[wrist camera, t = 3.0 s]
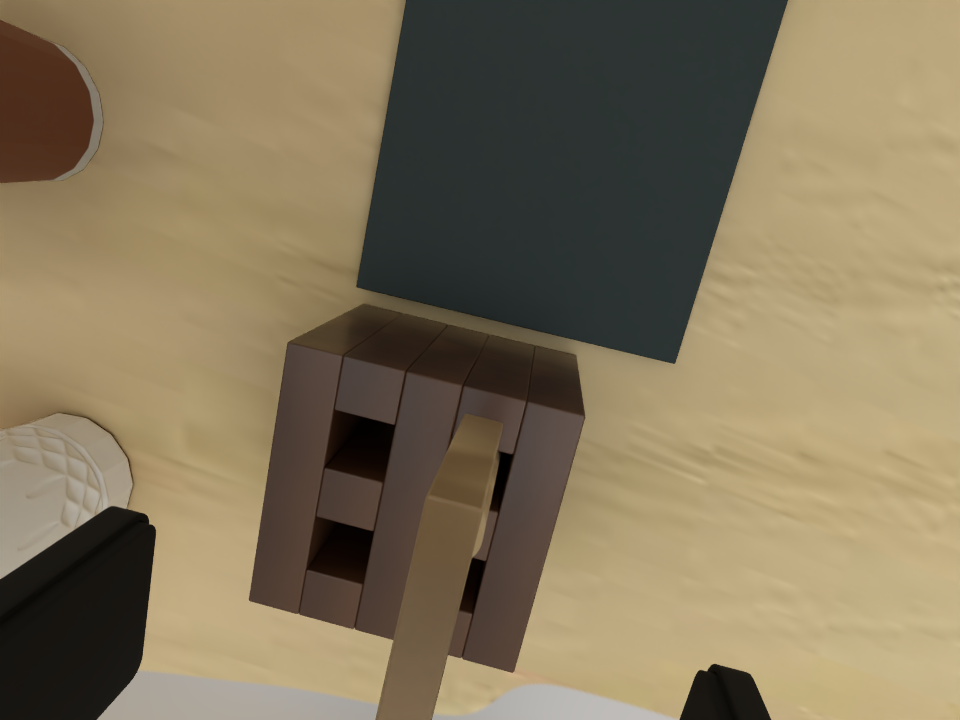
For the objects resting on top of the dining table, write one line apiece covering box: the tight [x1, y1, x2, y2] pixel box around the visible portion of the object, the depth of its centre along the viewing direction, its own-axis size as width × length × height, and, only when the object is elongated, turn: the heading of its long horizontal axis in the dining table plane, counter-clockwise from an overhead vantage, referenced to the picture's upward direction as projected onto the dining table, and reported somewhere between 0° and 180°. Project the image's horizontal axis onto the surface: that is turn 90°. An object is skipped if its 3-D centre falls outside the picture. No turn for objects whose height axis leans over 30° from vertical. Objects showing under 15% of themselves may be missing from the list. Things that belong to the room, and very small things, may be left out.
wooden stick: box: [376, 414, 503, 720], centre depth 21 cm, size 1×5×20 cm, turn 167°
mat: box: [357, 0, 788, 364], centre depth 27 cm, size 15×24×1 cm, turn 167°
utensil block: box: [249, 304, 585, 673], centre depth 27 cm, size 10×10×9 cm
